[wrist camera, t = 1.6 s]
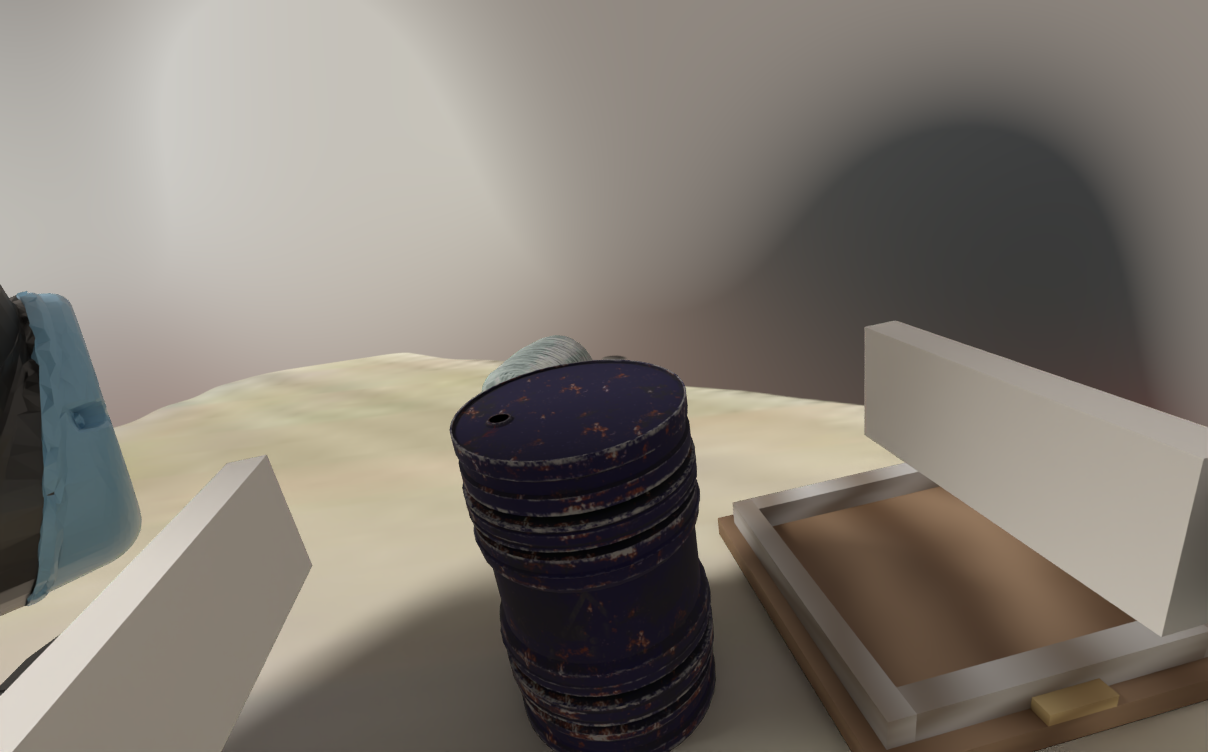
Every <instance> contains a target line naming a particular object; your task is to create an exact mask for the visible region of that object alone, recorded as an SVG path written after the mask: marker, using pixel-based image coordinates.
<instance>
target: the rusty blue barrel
mask: <svg viewBox="0 0 1208 752" xmlns="http://www.w3.org/2000/svg"><path fill="white" fill-rule="evenodd" d="M687 407H688V405H687V396H686V388H685V385H684V383H683V381H682V380H681V379H680V378H679V377H678V375H676V374H675V373H673V372H671V371H670V370H668V369H665V368H663V367H661V366H657V365H654V364H650V363H645V362H639V361H630V360H592V361H581V362H574V363H567V364H561V365H556V366H551V367H547V368H543V369H539V370H535V371H532V372H528V373H525V374H522V375H519V376H516V377H514V378H511V379H508V380H506V381H503V382H501V383H499V384H497V385H494V386H492V387H490V388H489V389H487V390H485V391H483V392H481V393H480V394H478V395H477V396H475V397H474V398H472V399H471V400H469V401H468V402H467V403H466V404H465V405H464V406H462V407H461V409H460V410H459V411H458V412H457V413H456V414H455V416H454V418H453V420H452V421H451V425H450V434H451V439H452V442H453V446H454V450H455V453H456V456H457V457H458V459H459V467H460V472H461V475H462V479H463V487H462V488H463V493H464V497H465V500H466V505H467V508H468V511H469V516H470V518H471V520H472V522H473V524H474V535H475V540H476V542H477V544H478V546H479V548H480V550H481V552H482V554H483V556H484V558H485V559H486V561H487V563H488V564H489V565H490V566H491V567H492V568H493V570H494V574H495V578H496V582H497V585H498V589H499V593H500V596H501V605H500V622H501V634H502V639H503V643H504V645H505V647H506V649H507V652H508V656H509V660H510V664H511V668H512V671H513V675H514V677H515V680H516V682H517V684H518V686H519V688H520V690H521V692H522V696H523V700H524V704H525V708H526V712H527V716H528V718H529V720H530V722H531V724H532V727H533V729H534V730H535V731H536V733H537V734H538V735H539V737H540V738H541V740H542V741H544V742H545V743H546V744H547V745H548V746H549V747H550V748H551V749H552V750H554V751H555V752H669V751H670V750H672V749H673V748H675V747H676V746H678V745H679V744H680V743H681V742H683V741H684V740H685V739H686V738H687V737H688V736H689V735H690V734H691V733H692V732H693V731H694V730H695V728H696V727H697V726H698V724H699V723H700V722H701V721H702V719H703V717H704V715H705V713H706V712H707V710H708V708H709V706H710V703H711V700H712V697H713V694H714V687H715V680H716V677H715V662H714V655H713V639H714V632H713V618H712V609H711V605H710V603H711V596H710V587H709V583H708V579H707V577H706V573H705V570H704V567H703V565H702V563H701V561H700V559H699V558H698V549H697V540H696V531H695V524H696V521H697V517H698V513H699V501H700V489H699V486H698V483H697V480H696V477H697V465H696V455H695V446H694V443H693V440H692V437H691V434H690V424H689V420H688V417H687Z"/></svg>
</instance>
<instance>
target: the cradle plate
mask: <svg viewBox="0 0 1208 752" xmlns="http://www.w3.org/2000/svg"><path fill="white" fill-rule="evenodd" d="M733 513H734V515H730V516H725V517H721V518H718V525H719V534H720V536H721V537H722V539H723V540H724V542H725V544H726V545H727V547H728V549H729V550H730V552H731V554H732V555H733V557H734V559H735V560H736V562H737V564H738V565H739V567H740V568H741V570H742V572H743V573H744V575H745V577H746V578H747V580H748V582H749V583H750V585H751V587H752V588H753V590H754V592H755V593H756V595H757V596H758V598H759V600H760V601H761V603H762V605H763V606H764V608H765V610H766V611H767V613H768V615H769V616H770V618H771V620H772V621H773V623H774V624H775V626H776V628H777V629H778V631H779V633H780V634H781V636H782V638H783V639H784V641H785V643H786V644H787V646H788V647H789V649H790V651H791V652H792V654H793V656H794V657H795V659H796V661H797V662H798V664H799V666H800V667H801V669H802V671H803V672H804V674H805V675H806V677H807V679H808V680H809V682H810V684H811V685H812V687H813V689H814V690H815V692H816V694H817V695H818V697H819V699H820V700H821V702H822V703H823V705H824V707H825V708H826V710H827V712H828V713H829V715H830V717H831V718H832V720H833V722H834V723H835V725H836V727H837V728H838V730H839V731H840V733H841V735H842V736H843V738H844V740H845V741H846V743H847V745H848V746H849V748H850V750H851V751H852V752H1033V751H1037V750H1040V749H1043V748H1047V747H1050V746H1053V745H1057V744H1060V743H1063V742H1067V741H1070V740H1073V739H1077V738H1080V737H1083V736H1087V735H1090V734H1093V733H1097V732H1100V731H1104V730H1107V729H1110V728H1114V727H1117V726H1120V725H1124V724H1127V723H1130V722H1134V721H1137V720H1140V719H1144V718H1147V717H1150V716H1154V715H1157V714H1161V713H1164V712H1167V711H1171V710H1174V709H1177V708H1181V707H1184V706H1187V705H1191V704H1194V703H1197V702H1201V701H1204V700H1207V699H1208V623H1207V624H1204V625H1201V626H1197V627H1194V628H1191V629H1187V630H1184V631H1181V632H1177V633H1174V634H1171V635H1167V636H1164V637H1160V636H1159V635H1157V634H1156V633H1154V632H1153V631H1152V630H1150V629H1149V628H1147V627H1146V626H1144V625H1143V624H1141V623H1140V622H1138V621H1137V620H1135V619H1134V618H1132V617H1131V616H1130V615H1128V614H1127V613H1125V612H1124V611H1122V610H1121V609H1119V608H1118V607H1116V606H1115V605H1113V604H1112V603H1110V602H1109V601H1108V600H1106V599H1105V598H1103V597H1102V596H1100V595H1099V594H1097V593H1096V592H1094V591H1093V590H1091V589H1090V588H1088V587H1087V586H1086V585H1084V584H1083V583H1081V582H1080V581H1078V580H1077V579H1075V578H1074V577H1072V576H1071V575H1069V574H1068V573H1067V572H1065V571H1064V570H1062V569H1061V568H1059V567H1058V566H1056V565H1055V564H1053V563H1052V562H1050V561H1049V560H1047V559H1046V558H1045V557H1043V556H1042V555H1040V554H1039V553H1037V552H1036V551H1034V550H1033V549H1031V548H1030V547H1028V546H1027V545H1025V544H1024V543H1023V542H1021V541H1020V540H1018V539H1017V538H1015V537H1014V536H1012V535H1011V534H1009V533H1008V532H1006V531H1005V530H1003V529H1002V528H1001V527H999V526H998V525H996V524H995V523H993V522H992V521H990V520H989V519H987V518H986V517H984V516H983V515H981V514H980V513H979V512H977V511H976V510H974V509H973V508H971V507H970V506H968V505H967V504H965V503H964V502H962V501H961V500H960V499H958V498H957V497H955V496H954V495H952V494H951V493H949V492H948V491H946V490H945V489H943V488H942V487H940V486H939V485H938V484H936V483H935V482H933V481H932V480H930V479H929V478H927V477H926V476H924V475H923V474H921V473H920V472H918V471H917V470H916V469H914V468H913V467H911V466H910V465H908V464H907V463H902V464H898V465H893V466H889V467H885V468H880V469H876V470H872V471H867V472H863V473H859V474H854V475H850V476H846V477H841V478H837V479H833V480H828V481H824V482H820V483H815V484H811V485H807V486H803V487H798V488H794V489H790V490H785V491H781V492H777V493H772V494H768V495H764V496H759V497H755V498H751V499H746V500H742V501H738V502H733Z"/></svg>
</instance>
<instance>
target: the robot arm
mask: <svg viewBox="0 0 1208 752" xmlns="http://www.w3.org/2000/svg"><path fill="white" fill-rule="evenodd" d="M865 435H866V436H867V437H869V438H870V439H872V440H873V441H874V442H876V443H877V444H879V445H880V446H882V447H883V448H885V449H886V450H888V451H889V452H891V453H892V454H894V455H895V456H896V457H898V458H899V459H901V460H902V461H904V462H905V463H907V464H908V465H910V466H911V467H913V468H914V469H916V470H917V471H918V472H920V473H921V474H923V475H924V476H926V477H927V478H929V479H930V480H932V481H933V482H935V483H936V484H938V485H939V486H940V487H942V488H943V489H945V490H946V491H948V492H949V493H951V494H952V495H954V496H955V497H957V498H958V499H960V500H961V501H962V502H964V503H965V504H967V505H968V506H970V507H971V508H973V509H974V510H976V511H977V512H979V513H980V514H981V515H983V516H984V517H986V518H987V519H989V520H990V521H992V522H993V523H995V524H996V525H998V526H999V527H1001V528H1002V529H1003V530H1005V531H1006V532H1008V533H1009V534H1011V535H1012V536H1014V537H1015V538H1017V539H1018V540H1020V541H1021V542H1023V543H1024V544H1025V545H1027V546H1028V547H1030V548H1031V549H1033V550H1034V551H1036V552H1037V553H1039V554H1040V555H1042V556H1043V557H1045V558H1046V559H1047V560H1049V561H1050V562H1052V563H1053V564H1055V565H1056V566H1058V567H1059V568H1061V569H1062V570H1064V571H1065V572H1067V573H1068V574H1069V575H1071V576H1072V577H1074V578H1075V579H1077V580H1078V581H1080V582H1081V583H1083V584H1084V585H1086V586H1087V587H1088V588H1090V589H1091V590H1093V591H1094V592H1096V593H1097V594H1099V595H1100V596H1102V597H1103V598H1105V599H1106V600H1108V601H1109V602H1110V603H1112V604H1113V605H1115V606H1116V607H1118V608H1119V609H1121V610H1122V611H1124V612H1125V613H1127V614H1128V615H1130V616H1131V617H1132V618H1134V619H1135V620H1137V621H1138V622H1140V623H1141V624H1143V625H1144V626H1146V627H1147V628H1149V629H1150V630H1152V631H1153V632H1154V633H1156V634H1157V635H1159V636H1160V637H1164V636H1167V635H1171V634H1174V633H1177V632H1181V631H1184V630H1187V629H1191V628H1194V627H1197V626H1201V625H1204V624H1207V623H1208V427H1205V426H1202V425H1199V424H1197V423H1193V422H1191V421H1188V420H1185V419H1182V418H1179V417H1176V416H1173V415H1170V414H1167V413H1164V412H1161V411H1158V410H1156V409H1152V408H1150V407H1147V406H1144V405H1141V404H1138V403H1135V402H1132V401H1129V400H1126V399H1123V398H1121V397H1118V396H1115V395H1112V394H1109V393H1106V392H1103V391H1100V390H1097V389H1094V388H1091V387H1088V386H1085V385H1082V384H1080V383H1077V382H1073V381H1071V380H1068V379H1065V378H1062V377H1059V376H1056V375H1053V374H1050V373H1047V372H1044V371H1042V370H1039V369H1036V368H1033V367H1030V366H1027V365H1024V364H1021V363H1018V362H1015V361H1012V360H1009V359H1006V358H1003V357H1001V356H997V355H995V354H992V353H989V352H986V351H983V350H980V349H977V348H974V347H971V346H968V345H965V344H963V343H960V342H957V341H954V340H950V339H948V338H945V337H942V336H939V335H936V334H933V333H930V332H927V331H924V330H922V329H919V328H916V327H913V326H910V325H907V324H904V323H901V322H898V321H891V322H886V323H882V324H877V325H872V326H868V327H865ZM141 521H142V518H141V513H140V508H139V505H138V501H137V498H136V495H135V492H134V489H133V485H132V482H131V479H130V476H129V473H128V470H127V467H126V464H125V461H124V458H123V455H122V452H121V449H120V446H119V443H118V440H117V437H116V434H115V432H114V429H113V426H112V423H111V420H110V417H109V415H108V412H107V409H106V404H105V401H104V399H103V396H102V393H101V390H100V387H99V383H98V380H97V377H96V374H95V371H94V368H93V365H92V362H91V359H90V356H89V353H88V350H87V347H86V344H85V341H84V338H83V335H82V333H81V330H80V327H79V324H78V321H77V319H76V316H75V313H74V310H73V308H72V305H71V303H70V302H69V301H68V300H67V299H66V298H64V297H63V296H60V295H58V294H51V293H48V294H35V293H27V291H26V292H21V293H18V294H17V295H15V296H13V297H11V298H9V297H8V296H7V294H6V293H5V291H4V290H3V288H2V286H1V285H0V616H1V615H4V614H6V613H8V612H11V611H13V610H16V609H18V608H20V607H23V606H30V605H32V604H35V603H37V602H39V601H40V600H42V599H43V598H45V596H46V595H47V594H48V593H49V592H51V591H53V590H55V589H57V588H59V587H61V586H63V585H65V584H67V583H69V582H71V581H73V580H76V579H78V578H80V577H82V576H84V575H86V574H88V573H90V572H92V571H94V570H96V569H98V568H100V567H103V566H105V565H107V564H109V563H111V562H113V561H114V560H116V559H117V558H119V557H120V556H122V555H123V554H124V553H125V552H126V551H127V550H128V549H129V548H130V547H131V546H132V545H133V543H134V542H135V540H136V539H137V537H138V535H139V532H140V529H141ZM311 567H312V563H311V561H310V559H309V556H308V554H307V551H306V549H305V546H304V544H303V542H302V539H301V537H300V534H299V532H298V529H297V527H296V525H295V522H294V520H293V517H292V515H291V512H290V510H289V508H288V505H287V503H286V500H285V498H284V495H283V493H282V491H281V488H280V486H279V483H278V481H277V478H276V476H275V474H274V471H273V469H272V466H271V464H270V461H269V459H268V456H267V455H263V456H258V457H254V458H249V459H244V460H240V461H235V462H230V463H227V464H226V465H225V466H224V467H223V468H222V469H221V470H220V471H219V472H218V473H217V474H216V475H215V476H214V477H213V478H212V479H211V480H210V481H209V482H208V483H207V484H206V485H205V486H204V487H203V488H202V489H201V490H200V491H199V493H198V494H197V495H196V496H195V497H194V498H193V499H192V500H191V501H190V502H189V503H188V504H187V505H186V506H185V507H184V508H183V509H182V510H181V511H180V512H179V513H178V514H177V515H176V516H175V517H174V518H173V519H172V520H171V521H170V522H169V523H168V524H167V525H166V526H165V527H164V528H163V530H162V531H161V532H160V533H159V534H158V535H157V536H156V537H155V538H154V539H153V540H152V541H151V542H150V543H149V544H148V545H147V546H146V547H145V548H144V549H143V550H142V551H141V552H140V553H139V554H138V555H137V556H136V557H135V558H134V559H133V560H132V561H131V562H130V563H129V564H128V565H127V567H126V568H125V569H124V570H123V571H122V572H121V573H120V574H119V575H118V576H117V577H116V578H115V579H114V580H113V581H112V582H111V583H110V584H109V585H108V586H107V587H106V588H105V589H104V590H103V591H102V592H101V593H100V594H99V595H98V596H97V597H96V598H95V599H94V600H93V601H92V602H91V604H90V605H89V606H88V607H87V608H86V609H85V610H84V611H83V612H82V613H81V614H80V615H79V616H78V617H77V618H76V619H75V620H74V621H73V622H72V623H71V624H70V625H69V626H68V627H67V628H66V629H65V630H64V631H63V632H62V633H61V634H60V635H59V636H57V637H56V638H55V639H53V640H52V641H51V642H49V643H48V644H46V645H45V646H44V647H42V648H41V649H40V650H38V651H37V652H35V653H34V654H33V655H31V656H30V657H29V658H27V659H26V660H25V661H24V662H23V663H22V664H21V665H20V666H19V667H18V668H17V669H16V670H15V671H14V672H13V673H12V674H11V675H10V676H9V677H8V678H7V679H6V680H5V681H4V682H3V683H2V684H1V685H0V752H222V750H223V748H224V745H225V743H226V741H227V739H228V737H229V735H230V733H231V731H232V729H233V727H234V725H235V723H236V721H237V719H238V717H239V715H240V713H241V711H242V709H243V707H244V704H245V702H246V700H247V698H248V696H249V694H250V692H251V690H252V688H253V686H254V684H255V682H256V680H257V678H258V676H259V674H260V672H261V670H262V668H263V666H264V663H265V661H266V659H267V657H268V655H269V653H270V651H271V649H272V647H273V645H274V643H275V641H276V639H277V637H278V635H279V633H280V631H281V629H282V627H283V625H284V622H285V620H286V618H287V616H288V614H289V612H290V610H291V608H292V606H293V604H294V602H295V600H296V598H297V596H298V594H299V592H300V590H301V588H302V586H303V584H304V581H305V579H306V577H307V575H308V573H309V571H310V569H311Z"/></svg>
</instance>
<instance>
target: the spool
mask: <svg viewBox="0 0 1208 752" xmlns="http://www.w3.org/2000/svg"><path fill="white" fill-rule="evenodd" d="M581 361H592V358H591V356H590V355H589V354H588V352H587V351H586V349H585V348H584V347H583V346H582V345H581V344H580V343H578V342H576V341H575V340H573V339H571V338H569V337H565V336H556V335H555V336H550V337H546V338H543V339H539V340H538V341H536V342H534V343H532V344H530V345H528V346H526V347H524V348H523V349H521V350H519V351H518V352H517V353H515V354H514V355H513V356H511V357H510V358H509V359H507V360H506V361H505V362H504V363H503V364H502V365H501V366H499V367H498V368H497V369H496V370H494V371H493V372H492V373H490V374H489V376H488V377H487V378H486V380H485V382H484V384H483V387H482V392H483V391H485V390H487V389H489V388H490V387H492V386H494V385H497V384H499V383H501V382H503V381H506V380H508V379H511V378H514V377H516V376H519V375H522V374H525V373H528V372H532V371H535V370H539V369H543V368H547V367H551V366H556V365H561V364H567V363H574V362H581Z"/></svg>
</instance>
